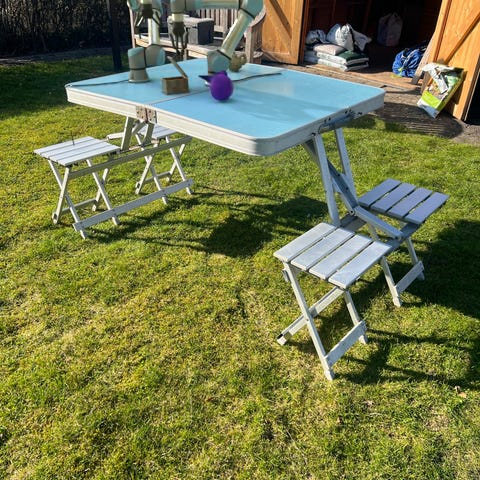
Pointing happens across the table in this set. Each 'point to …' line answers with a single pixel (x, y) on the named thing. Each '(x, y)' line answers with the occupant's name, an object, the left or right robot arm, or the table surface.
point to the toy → (219, 85)
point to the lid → (177, 64)
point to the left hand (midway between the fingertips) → (150, 38)
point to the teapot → (237, 62)
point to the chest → (175, 85)
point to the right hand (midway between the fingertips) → (180, 60)
